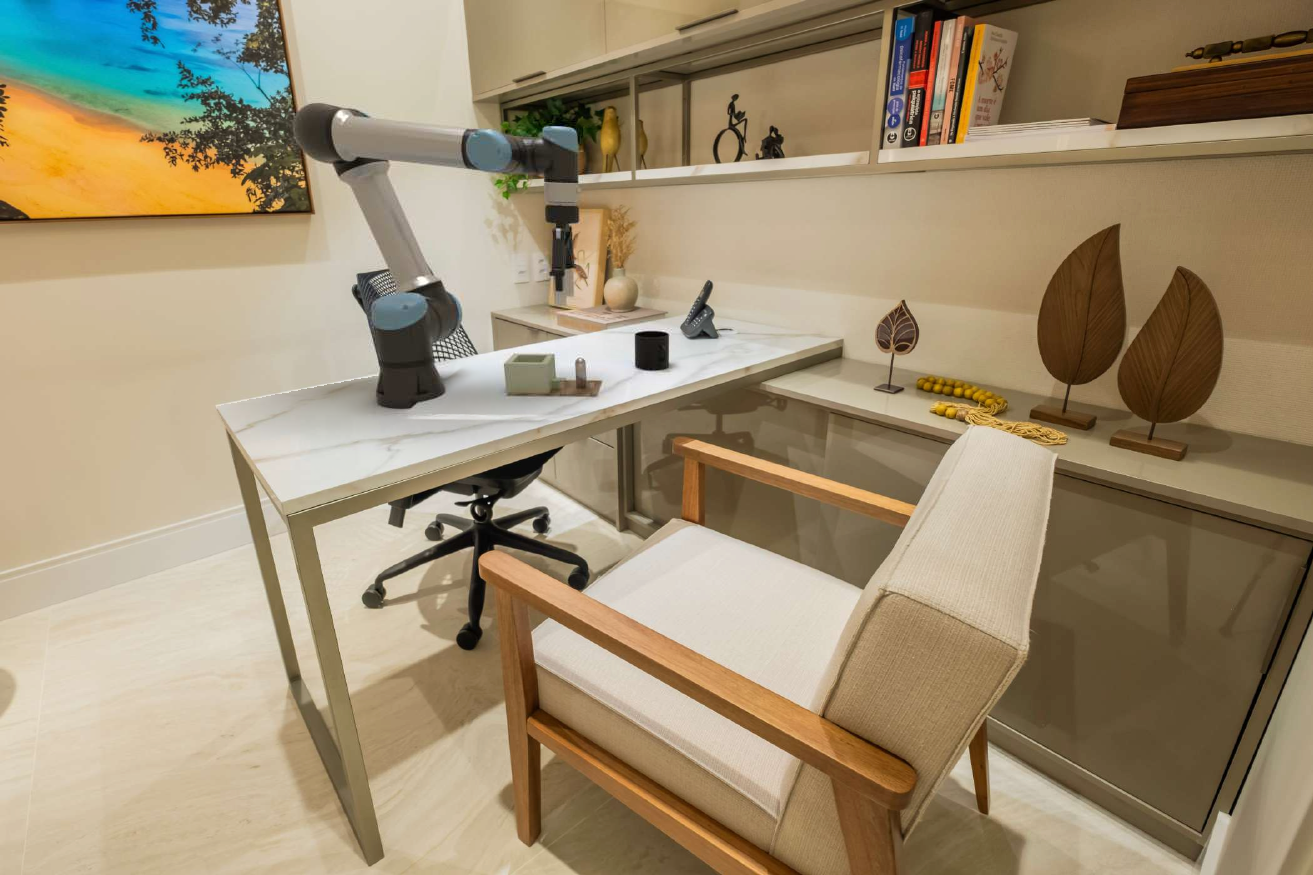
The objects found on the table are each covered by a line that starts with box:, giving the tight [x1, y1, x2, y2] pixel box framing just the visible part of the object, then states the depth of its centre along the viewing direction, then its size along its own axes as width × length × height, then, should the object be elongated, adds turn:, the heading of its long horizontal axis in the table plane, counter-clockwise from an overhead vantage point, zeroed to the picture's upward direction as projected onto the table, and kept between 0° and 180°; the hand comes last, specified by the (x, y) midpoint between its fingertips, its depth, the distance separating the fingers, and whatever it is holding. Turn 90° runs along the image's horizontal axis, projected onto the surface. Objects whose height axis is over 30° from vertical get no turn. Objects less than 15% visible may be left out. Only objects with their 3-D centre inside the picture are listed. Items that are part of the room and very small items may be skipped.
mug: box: [634, 330, 670, 371], centre depth 172 cm, size 9×12×9 cm
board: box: [505, 379, 603, 398], centre depth 151 cm, size 21×13×4 cm, turn 89°
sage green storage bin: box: [503, 353, 566, 394], centre depth 150 cm, size 13×10×7 cm
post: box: [574, 357, 587, 389], centre depth 150 cm, size 2×2×7 cm
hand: (564, 301), depth 147 cm, fingers open, 13 cm apart
